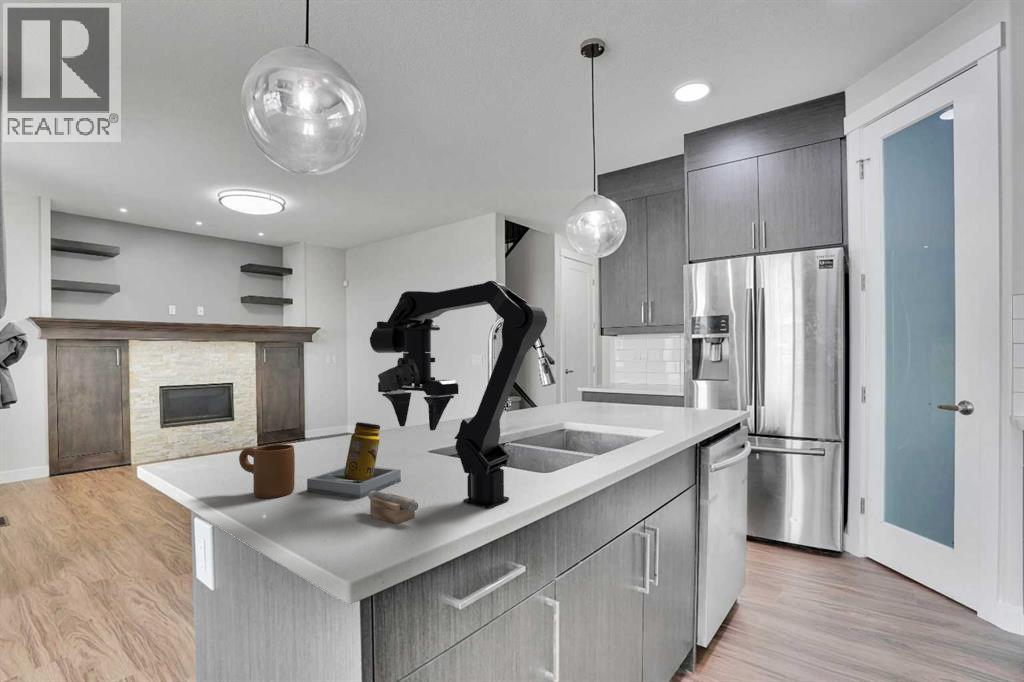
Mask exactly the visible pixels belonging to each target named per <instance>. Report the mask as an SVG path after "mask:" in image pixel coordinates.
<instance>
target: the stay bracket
mask: <svg viewBox="0 0 1024 682" xmlns="http://www.w3.org/2000/svg"><path fill="white" fill-rule="evenodd" d="M367 497H368V499H370V503H369V505H370V506H369V508H370V511H369V513H370V517H374V518H377V519H380V520H383V521H386V522H390V523H392V524H396V525H397V524H400V523H402V522H405V521H408V520H412V519H414V518H415V512H416V511H418V509H419V503H418V502H417V501H415V499H412V498H409V497H404V496H400V495H396V494H393V493H391V492H390V493H385V492H382V491H373V490H372V491H370V492H369V494H368V495H367Z"/></svg>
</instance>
